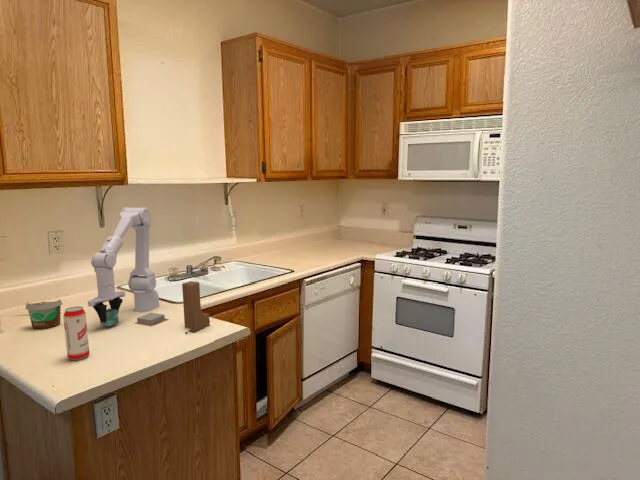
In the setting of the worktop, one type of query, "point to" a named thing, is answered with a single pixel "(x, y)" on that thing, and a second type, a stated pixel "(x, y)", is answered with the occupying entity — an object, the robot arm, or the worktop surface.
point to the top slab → (151, 318)
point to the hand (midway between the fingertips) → (109, 320)
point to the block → (110, 317)
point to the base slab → (153, 324)
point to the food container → (44, 314)
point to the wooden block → (193, 307)
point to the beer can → (76, 333)
